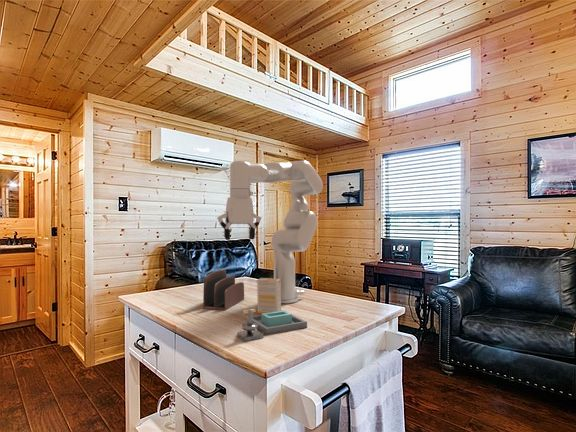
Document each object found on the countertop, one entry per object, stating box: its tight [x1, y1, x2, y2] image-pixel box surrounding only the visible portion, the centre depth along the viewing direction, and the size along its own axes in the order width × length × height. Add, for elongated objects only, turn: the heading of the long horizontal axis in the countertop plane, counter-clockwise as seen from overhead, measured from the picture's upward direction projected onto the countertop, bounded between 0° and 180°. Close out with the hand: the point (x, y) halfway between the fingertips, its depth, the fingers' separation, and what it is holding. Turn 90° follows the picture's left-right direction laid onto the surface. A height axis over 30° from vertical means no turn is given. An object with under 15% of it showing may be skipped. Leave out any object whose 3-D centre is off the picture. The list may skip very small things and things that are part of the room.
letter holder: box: [202, 269, 245, 311], centre depth 141 cm, size 10×20×14 cm, turn 165°
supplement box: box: [256, 277, 282, 315], centre depth 127 cm, size 8×5×13 cm, turn 71°
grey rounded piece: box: [236, 308, 264, 342], centre depth 100 cm, size 6×6×8 cm
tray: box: [253, 314, 308, 336], centre depth 112 cm, size 15×15×2 cm
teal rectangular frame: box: [260, 310, 293, 327], centre depth 112 cm, size 10×6×3 cm, turn 120°
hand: (239, 239), depth 125 cm, fingers open, 9 cm apart
